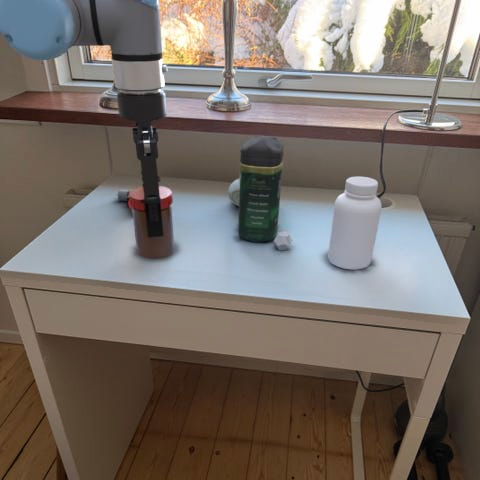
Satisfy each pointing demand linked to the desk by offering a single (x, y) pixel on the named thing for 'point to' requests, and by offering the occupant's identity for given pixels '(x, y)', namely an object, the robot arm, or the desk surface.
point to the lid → (138, 195)
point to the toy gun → (124, 197)
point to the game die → (282, 240)
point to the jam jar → (153, 245)
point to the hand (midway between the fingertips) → (154, 226)
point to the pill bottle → (355, 224)
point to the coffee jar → (260, 188)
